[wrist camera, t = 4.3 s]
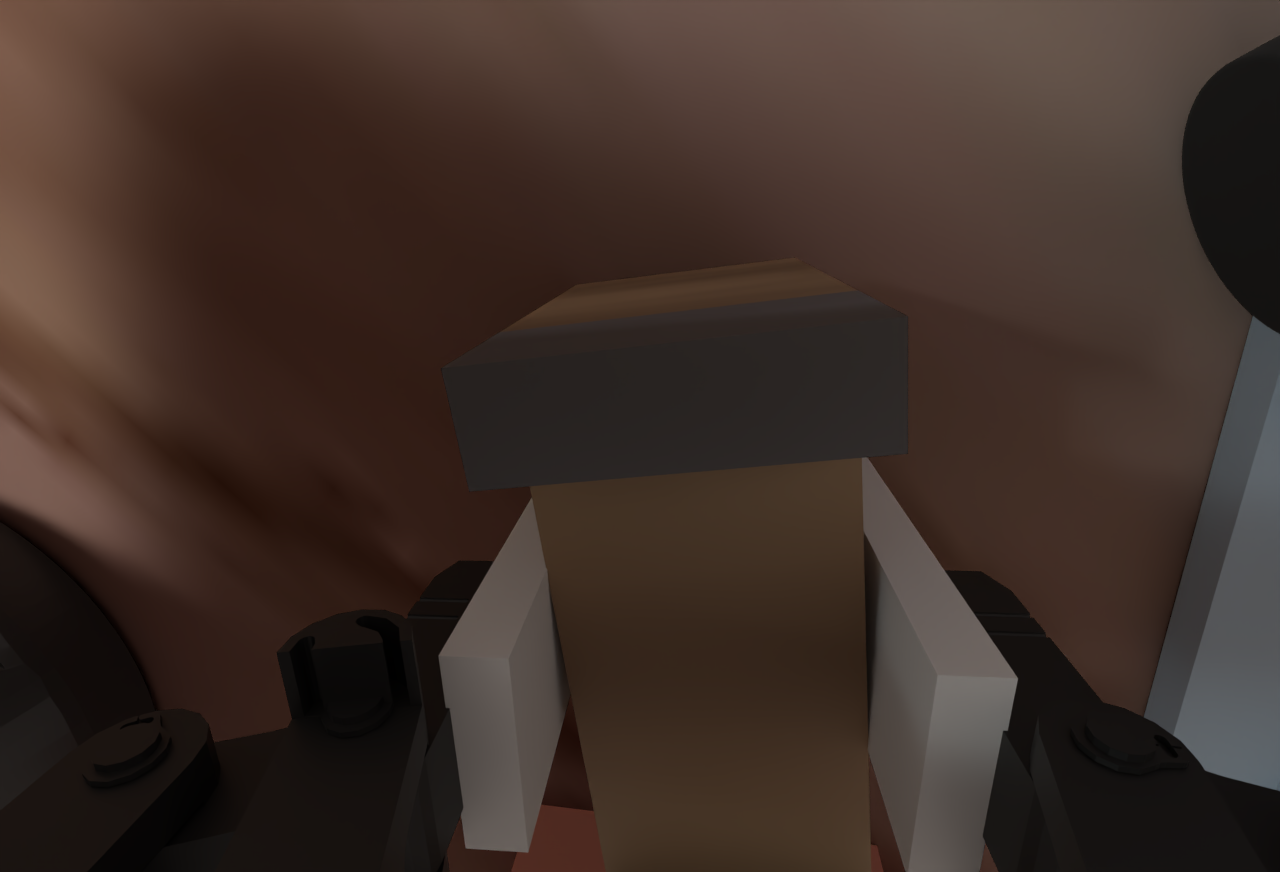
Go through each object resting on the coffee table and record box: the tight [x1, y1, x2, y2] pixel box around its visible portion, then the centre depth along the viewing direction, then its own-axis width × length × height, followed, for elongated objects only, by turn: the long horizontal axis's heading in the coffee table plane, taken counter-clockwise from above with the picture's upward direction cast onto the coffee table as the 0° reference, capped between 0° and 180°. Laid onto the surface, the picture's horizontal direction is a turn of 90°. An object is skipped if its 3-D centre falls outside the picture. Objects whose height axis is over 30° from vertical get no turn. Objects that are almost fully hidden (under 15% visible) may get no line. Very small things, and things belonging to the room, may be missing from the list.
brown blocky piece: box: [441, 257, 908, 872], centre depth 9 cm, size 10×4×9 cm, turn 7°
